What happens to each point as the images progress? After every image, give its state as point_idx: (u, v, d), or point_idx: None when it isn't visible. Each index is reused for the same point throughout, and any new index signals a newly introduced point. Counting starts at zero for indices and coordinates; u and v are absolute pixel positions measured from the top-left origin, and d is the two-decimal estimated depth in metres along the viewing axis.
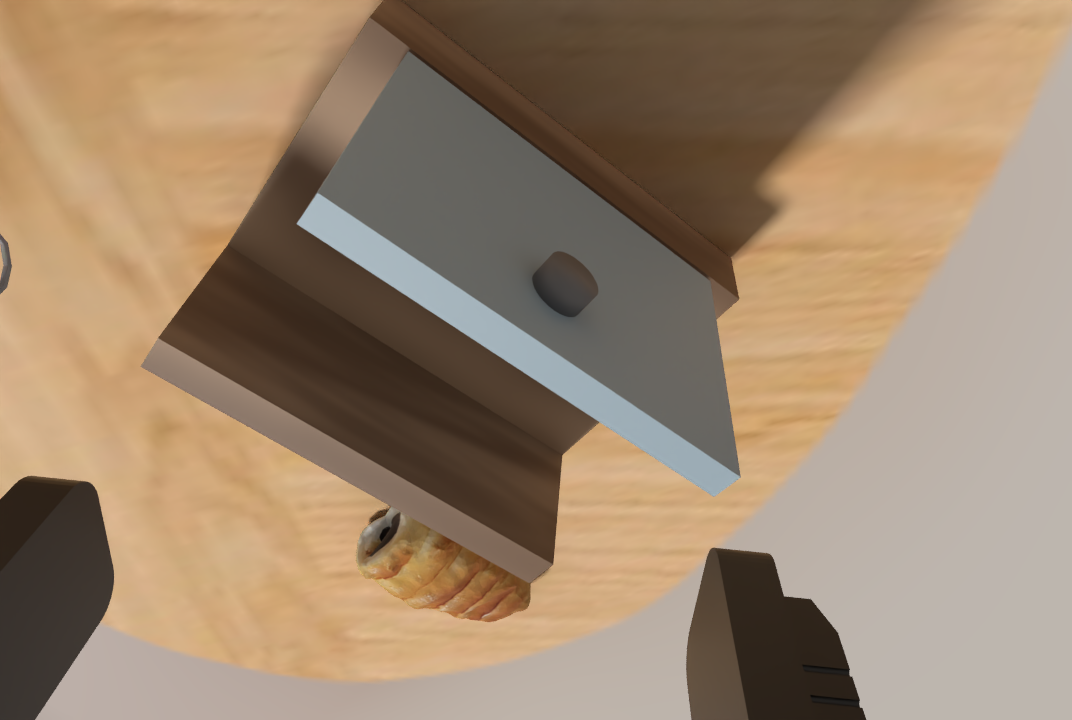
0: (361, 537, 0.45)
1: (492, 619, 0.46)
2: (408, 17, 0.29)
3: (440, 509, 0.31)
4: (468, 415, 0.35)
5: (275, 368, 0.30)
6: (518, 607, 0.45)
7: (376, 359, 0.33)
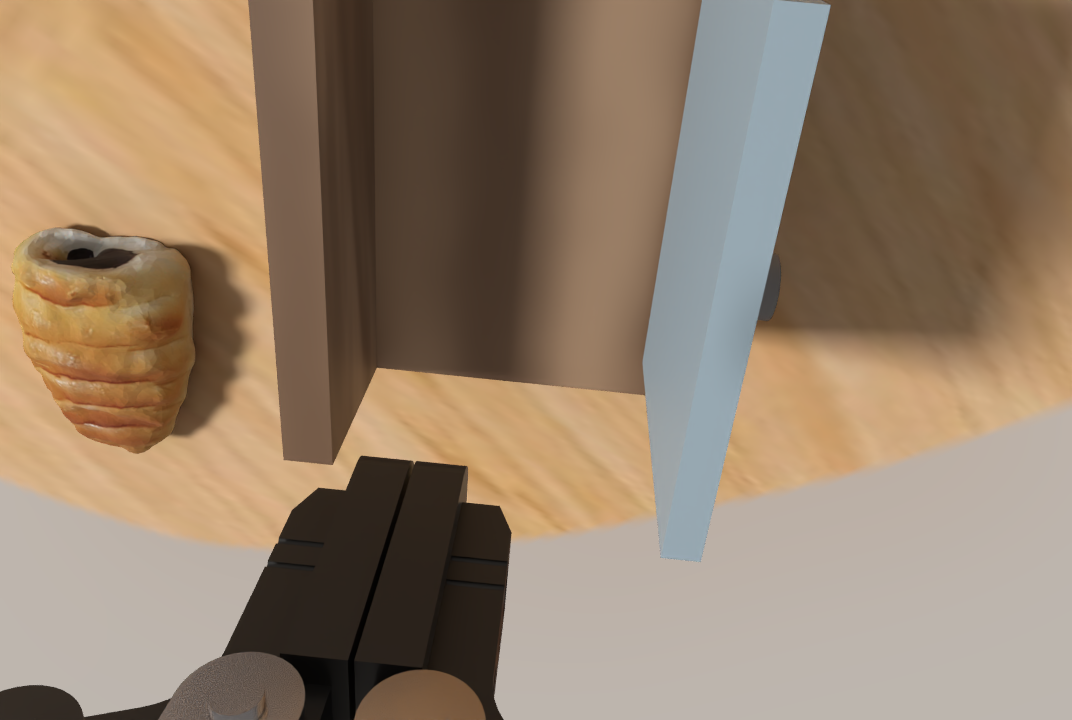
0: (48, 232, 0.32)
1: (90, 434, 0.35)
2: None
3: (311, 321, 0.24)
4: (368, 257, 0.28)
5: (332, 27, 0.21)
6: (134, 446, 0.35)
7: (365, 124, 0.26)
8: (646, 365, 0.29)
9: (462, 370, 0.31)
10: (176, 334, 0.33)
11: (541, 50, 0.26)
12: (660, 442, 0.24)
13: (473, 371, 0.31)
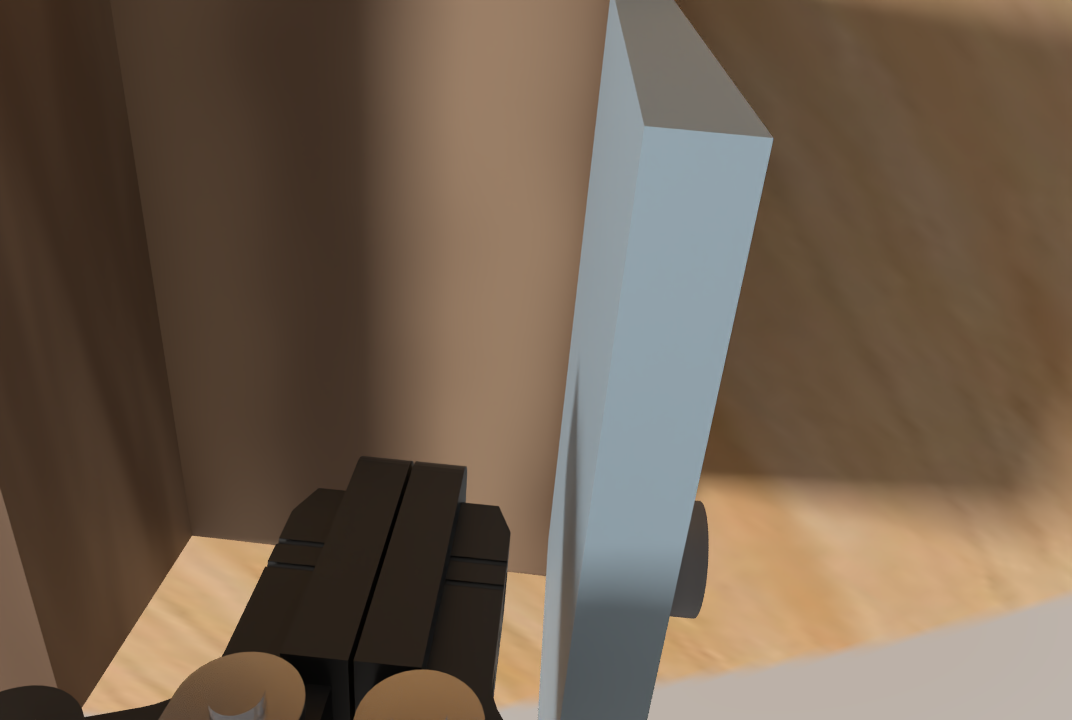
0: None
1: None
2: None
3: None
4: (147, 407, 0.20)
5: None
6: None
7: (115, 229, 0.18)
8: (548, 557, 0.20)
9: None
10: None
11: (372, 121, 0.17)
12: None
13: None
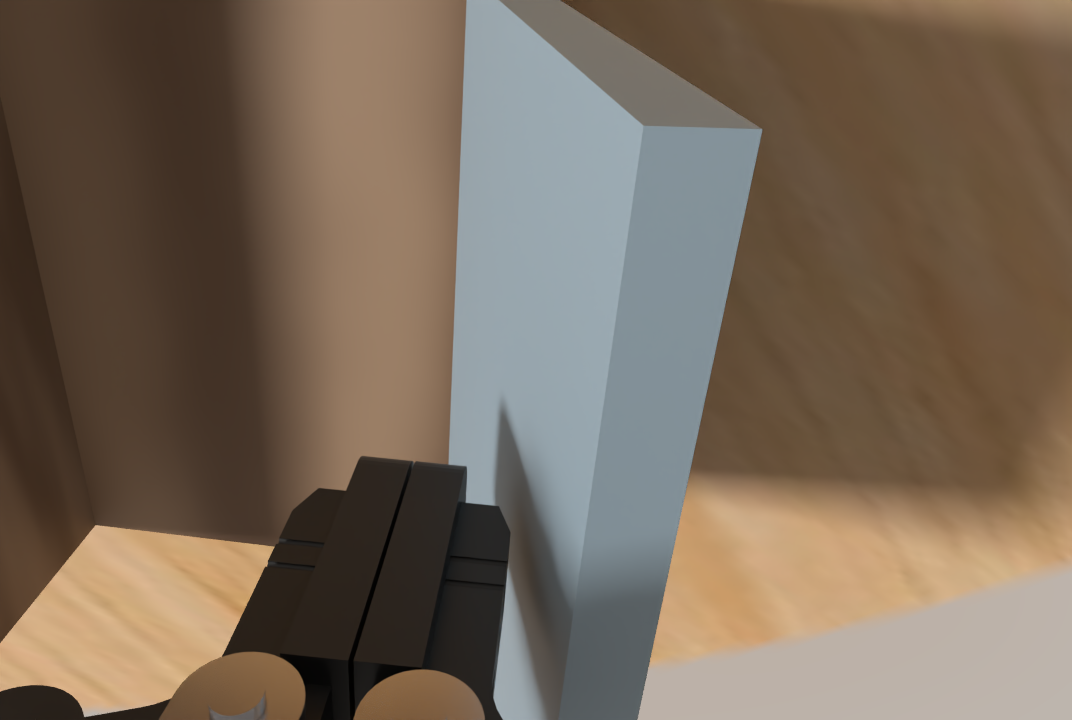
0: None
1: None
2: None
3: None
4: (35, 395, 0.20)
5: None
6: None
7: None
8: None
9: (209, 531, 0.23)
10: None
11: (244, 108, 0.17)
12: None
13: (224, 533, 0.23)
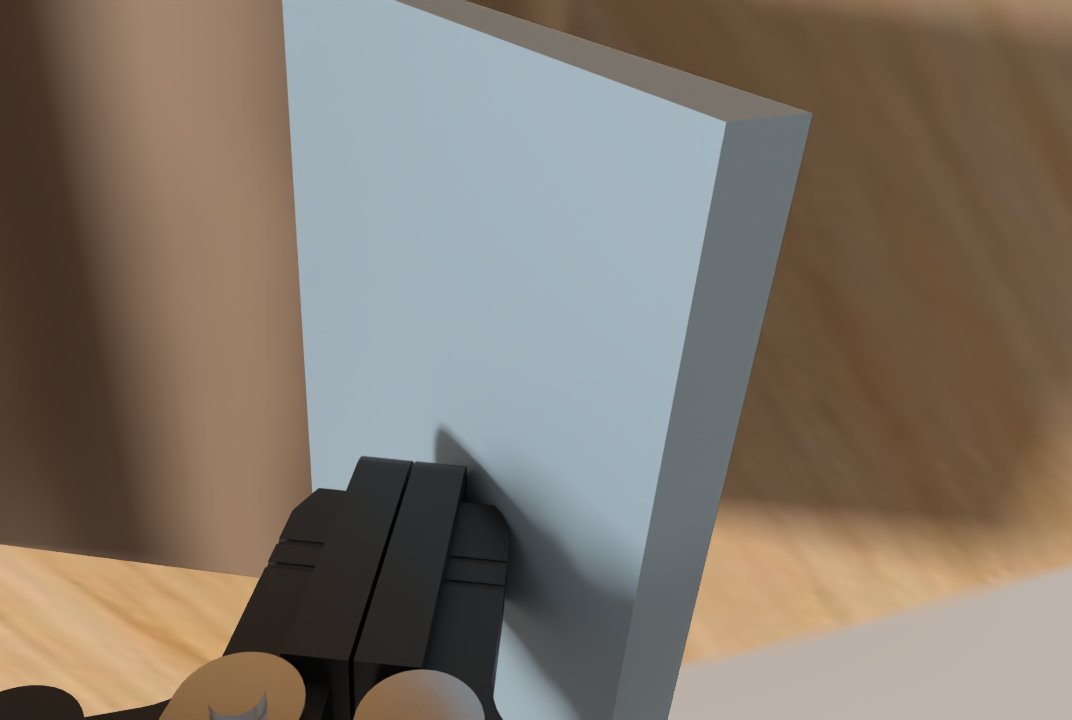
0: None
1: None
2: None
3: None
4: None
5: None
6: None
7: None
8: None
9: (75, 546, 0.22)
10: None
11: (63, 102, 0.16)
12: None
13: (90, 548, 0.22)
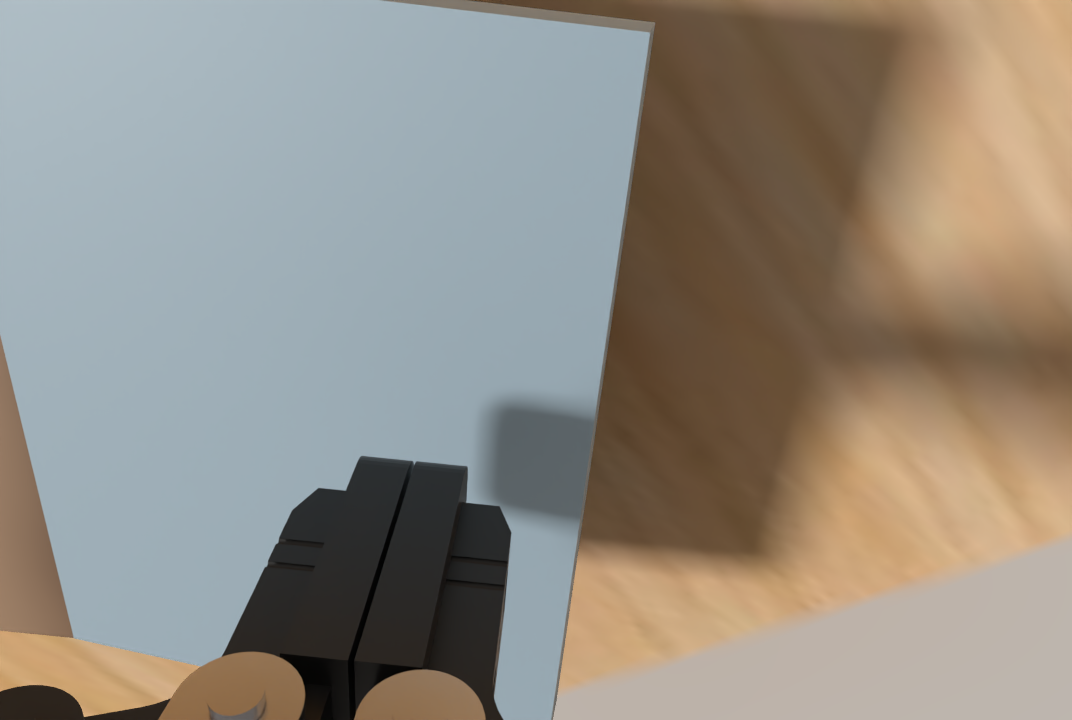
0: None
1: None
2: None
3: None
4: None
5: None
6: None
7: None
8: (124, 630, 0.17)
9: None
10: None
11: None
12: None
13: None
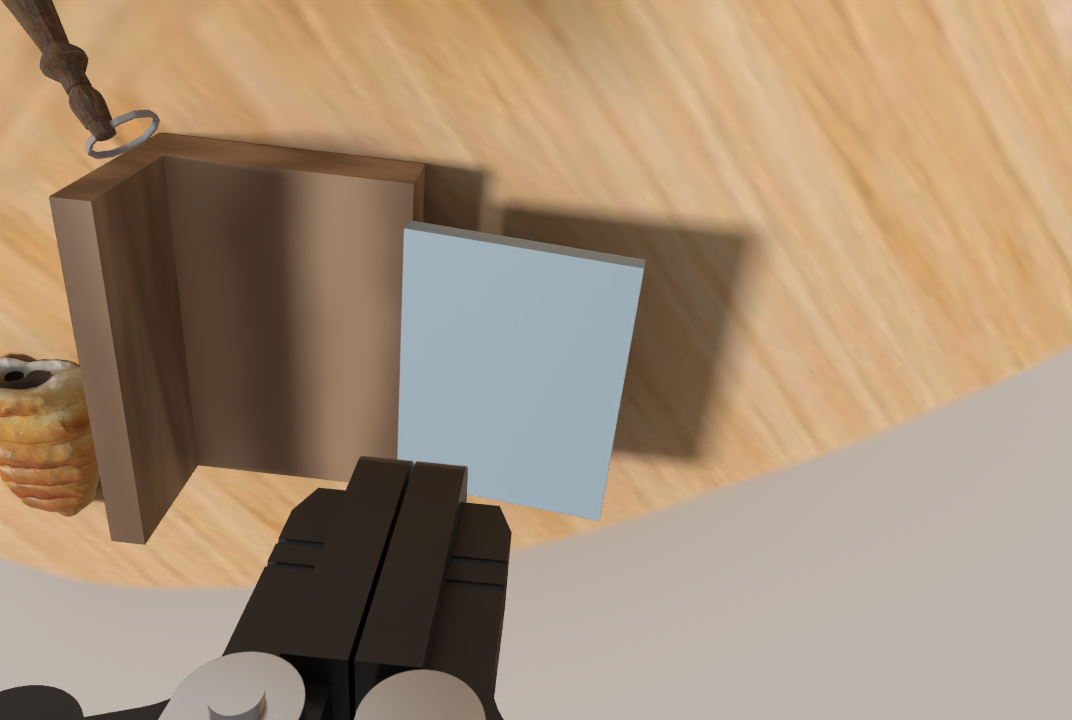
0: None
1: (32, 504, 0.47)
2: (421, 189, 0.38)
3: (121, 454, 0.36)
4: (179, 396, 0.40)
5: (124, 278, 0.34)
6: (66, 511, 0.47)
7: (169, 314, 0.38)
8: None
9: (259, 467, 0.43)
10: (86, 430, 0.44)
11: (288, 266, 0.38)
12: (535, 486, 0.40)
13: (267, 469, 0.43)
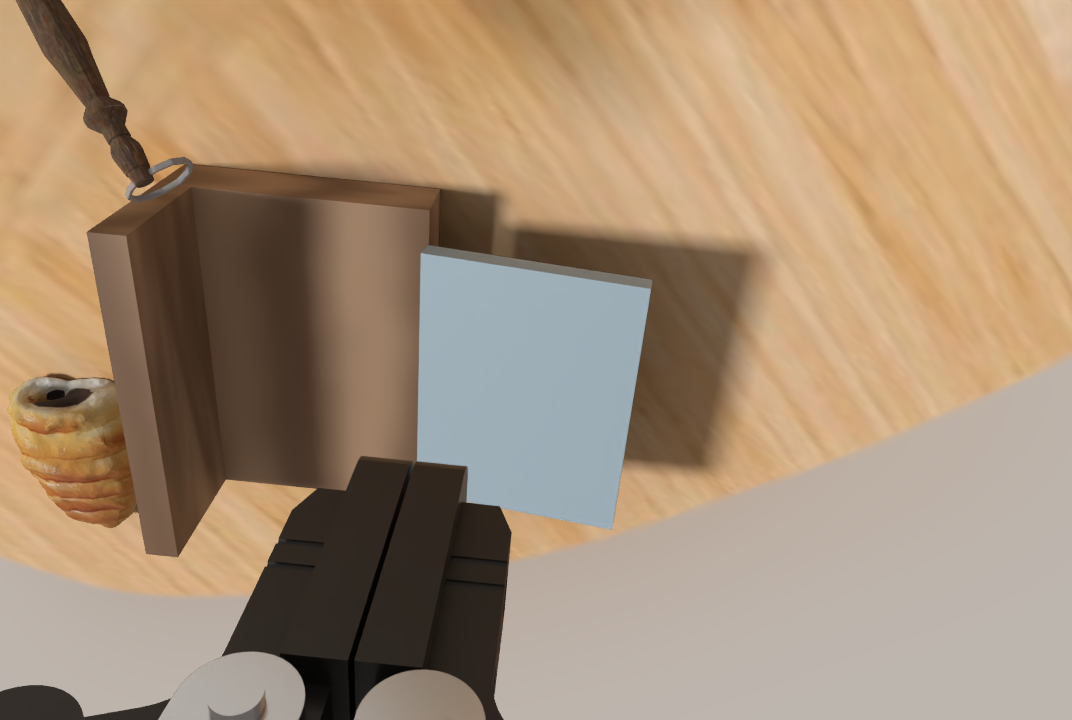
0: (32, 381, 0.46)
1: (76, 517, 0.49)
2: (436, 214, 0.40)
3: (155, 472, 0.38)
4: (208, 414, 0.42)
5: (157, 305, 0.35)
6: (108, 523, 0.49)
7: (197, 336, 0.40)
8: None
9: (284, 481, 0.45)
10: None
11: (310, 290, 0.40)
12: (550, 496, 0.42)
13: (291, 482, 0.45)
